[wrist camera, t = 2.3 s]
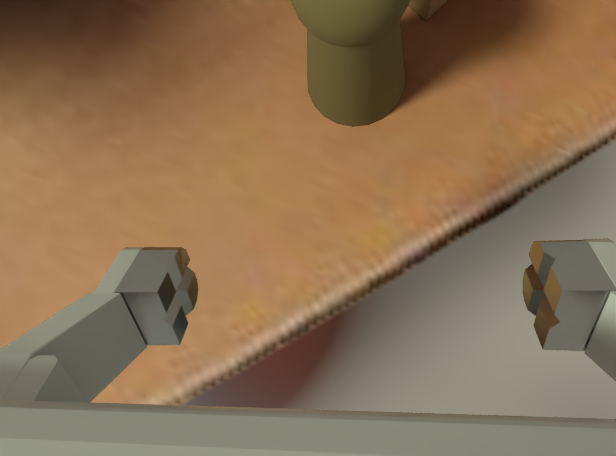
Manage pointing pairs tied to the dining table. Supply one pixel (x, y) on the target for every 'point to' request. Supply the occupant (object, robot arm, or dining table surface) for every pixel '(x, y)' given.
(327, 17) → the olive knobbed peg
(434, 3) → the walnut block
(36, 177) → the dining table surface
